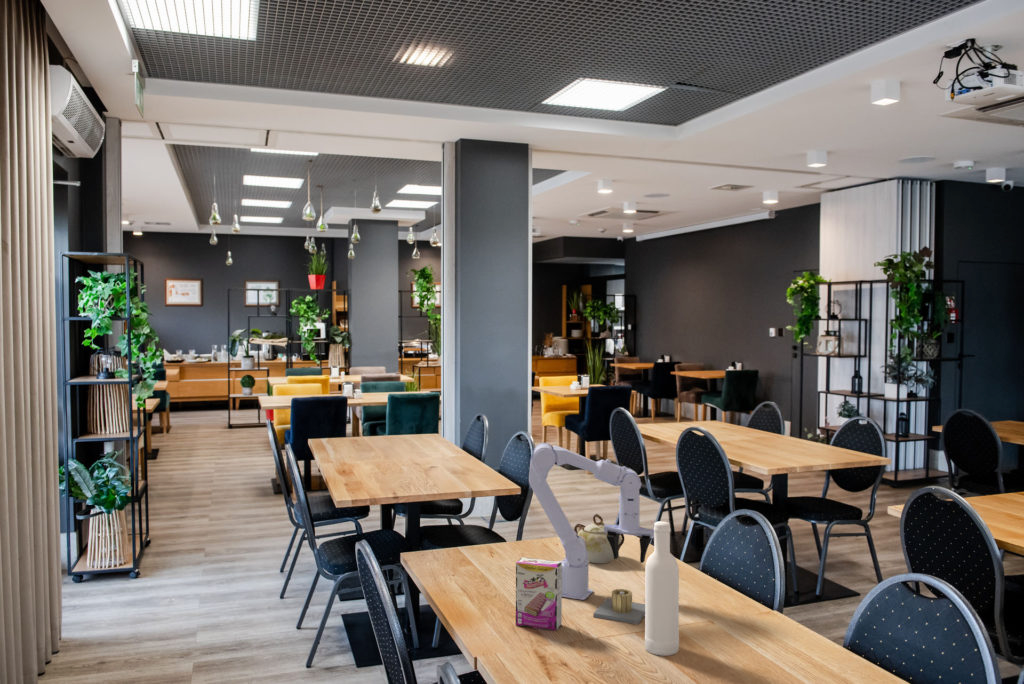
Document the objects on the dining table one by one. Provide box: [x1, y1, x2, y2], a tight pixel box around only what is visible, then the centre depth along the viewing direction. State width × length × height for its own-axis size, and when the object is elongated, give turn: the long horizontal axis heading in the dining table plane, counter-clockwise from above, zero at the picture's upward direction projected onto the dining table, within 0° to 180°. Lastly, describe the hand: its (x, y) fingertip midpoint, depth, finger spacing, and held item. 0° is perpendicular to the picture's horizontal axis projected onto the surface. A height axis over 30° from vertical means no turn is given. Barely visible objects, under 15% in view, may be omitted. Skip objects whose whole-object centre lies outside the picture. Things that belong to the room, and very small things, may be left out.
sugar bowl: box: [573, 513, 625, 564], centre depth 245 cm, size 20×15×15 cm
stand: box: [592, 592, 645, 625], centre depth 199 cm, size 12×12×6 cm
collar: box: [611, 588, 633, 613], centre depth 199 cm, size 5×5×4 cm
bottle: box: [644, 520, 680, 657], centre depth 177 cm, size 8×8×30 cm
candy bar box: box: [515, 557, 563, 632], centre depth 191 cm, size 11×5×16 cm, turn 71°
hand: (629, 560), depth 213 cm, fingers open, 7 cm apart
